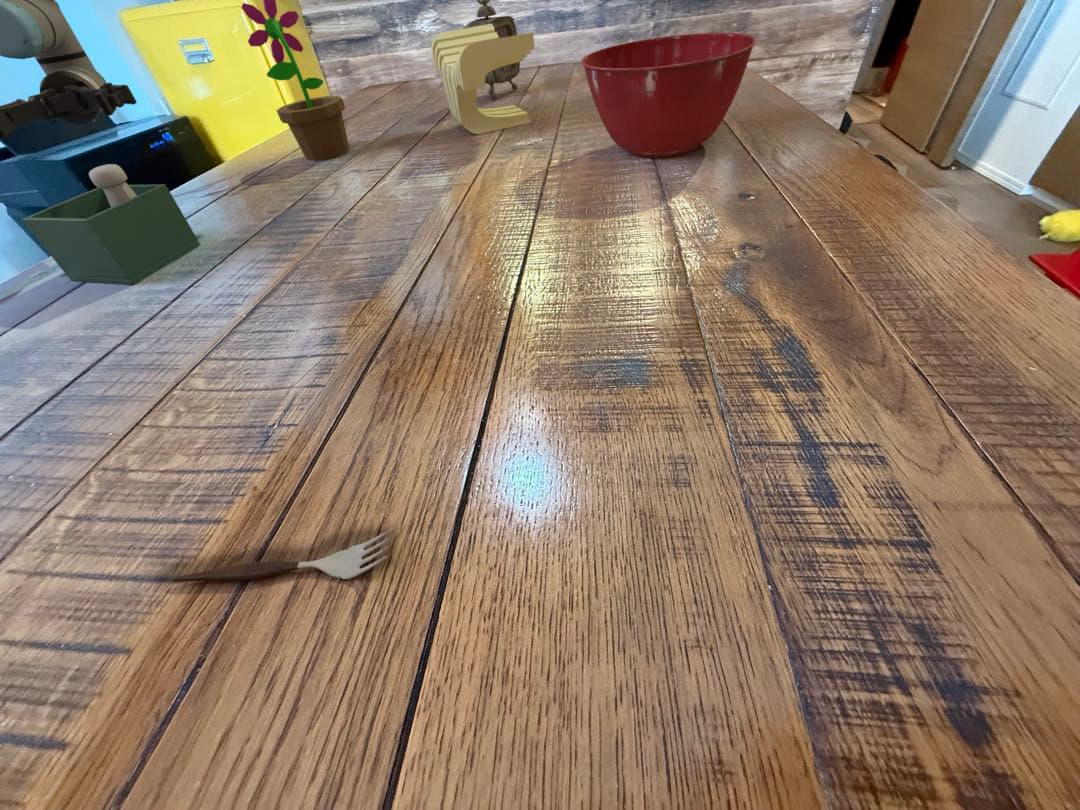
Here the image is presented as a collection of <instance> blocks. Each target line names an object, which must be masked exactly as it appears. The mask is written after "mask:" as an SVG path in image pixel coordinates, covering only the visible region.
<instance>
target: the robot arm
mask: <svg viewBox="0 0 1080 810" xmlns="http://www.w3.org/2000/svg"><path fill="white" fill-rule="evenodd" d="M0 57H3V58H6V59H16V60H27V59H32V58H34V59H35V60H36V62H37V63H38V65H39V66H40V68H41V69H42V71H43V72H44V74H45V76H44V77H43V78H42V79H41V81H40V83H39V93H37V94H33V95H29V96H27V100H25V99H22V98H17V99H16V100H14V101H12V102H9V103H6V104H5V103H4V104H2V105H0V138H5V137H7V136H11V135H13V134H14V133H13V131H15V130H16V129H17V128H16V127H18V126H21V125H25V124H27V123H33V122H35V121H39V120H42V121H52V120H56V119H58V118H59V119H62V120H63V121H65V122H67V123H70V124H76V125H86V124H89V123H92V122H93V123H94V122H96V119H97V118H98V117H99V115H100V114H101V112H102V111H103V113H104V115H105V116H106V117H108V116H109V117H110V116H113V115H114V113H115V112H116V110H117V108H123V107H124V106H125V105H136V104H137V103H138V101H137V100H136V97H135V96H134V94H133V93H132V91H131V88H130V87H129V85H128V84H113V83H112V82H111V81H110V82H107V81H106V78H104V76H103V75H102V74H101V73H100V72H98V71H97V69H96V68H95V66H94V64H93V63H92V61H91V59H90V57H89V56H88V55H87V53H86V51H85V50H84V48H83V46H82V44H81V43H80V41H79V39H78V37H77V36H76V34H75V33H74V31H73V28H72V27H71V26H70V24H69V21H68V20H67V18H66V16H65V15H64V14H63V12H62V10H61V8H60V4H59V3H58V1H56V0H0Z"/></svg>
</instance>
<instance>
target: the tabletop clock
mask: <svg viewBox="0 0 1080 810" xmlns="http://www.w3.org/2000/svg"><path fill="white" fill-rule="evenodd" d="M476 2H477V3H478V4H480V5H481V6H480V7H479V8H478V10H477V12H476V19H474V20H472V21H470V22H468V23H467V24H466V25H465V26H464V27H463V29H465V28H471V27H476V26H482V25H487V24H492V25H493V27H494V29H495V32H497V34H498V36H499V38H504V37H510V36H515V35H518V33H517V28H516V23H515V20H514V17H512V16H510V15H502V16H496V15H497V12H496V10H495V8H494V7H493V6H492V5H488V3H489V2H491V0H476ZM520 65H521V62H517V63H513V64H509V65H506V66H503V67H500V68H497V69H495V70H493V71H491V72H489V73H487V74H486V77H485V84H488V85H489V89H488V91H487V92H488V95H489V96H490V98H491V99H492V100H494V101H495V100H497V98H498V94H497V93H496V92H495V87H494V85H495V84H503V83H506V82H508V83H509V84H510V85H511V89H512V90H513V91H517V89H518V85H517V84H516V83H514V82H513V79H514V78H516V77H517V76H518V75H519V73H520V69H521V66H520Z"/></svg>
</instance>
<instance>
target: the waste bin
mask: <svg viewBox="0 0 1080 810" xmlns="http://www.w3.org/2000/svg"><path fill="white" fill-rule="evenodd" d="M128 186H129V187H130V188H131V189H132V190H133V192H134V193H135V194H136V195H137V196H135V197H133V198H131V199H129V200H127V201H124V202H122V203H120V204H118V205H116V206H114V207H111V206H110V204H109V201H108V199H107V197H106V195H105V193H104V190H103V188H99V187H96V188H94V189H93V188H92V189H91V190H88V191H86V192H84V193H82V194H79V195H77V196H75V197H71V198H69V199H67V200H64V201H62V202H60V203H58V204H55V205H53V206H49V207H47V208H45V209H43V210H41V211H38V212H36V213H33V214H30V215H28V216H26V217H23V218H22V219H21V220H22V222H23V223H24V224H25V225H26V227H27V228H28V229H29V230H30V232H31V233H32V235H33V236H34V237H35V238H36V239H37V240H38V242H39V243H40V244H41V245H42V247H43V248H44V249H45V250H46V252H47V253H48V254H49V256H50V257H51V258H52V259H53V261H54V262H55V263H56V264H57V265H58V266H59V268H60V269H61V270H62V272H63V273H64V274H65V275H66V276H67V278H68V279H69V280H70V281H71V282H81V283H97V284H98V283H99V284H112V285H124V286H135V285H136V284H137V283H139V282H140V281H142V280H144V279H146V278H147V277H149V276H151V275H153V274H155V273H156V272H157V271H159V270H161V269H162V268H164V267H166V266H167V265H169V264H171V263H173V262H174V261H176V260H177V259H179V258H181V257H183V256H184V255H186V254H188V253H190V252H191V251H193V250H194V249H196V248H198V247H200V246H201V243H200V240H199V239H198V237H197V236H196V234H195V232H194V231H193V229H192V227H191V226H190V224H189V222H188V220H187V219H186V217H185V215H184V214H183V212H182V210H181V208H180V207H179V205H178V204H177V201H176V200H175V199H174V196H173V195H172V193H171V191H170V189H169V188H168V187H167V185H166V184H165V183H163V184H162V183H161V184H128Z"/></svg>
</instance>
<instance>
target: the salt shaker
mask: <svg viewBox="0 0 1080 810" xmlns="http://www.w3.org/2000/svg"><path fill="white" fill-rule="evenodd" d="M88 176H89V179H90V180H91V182H92V183H93V185H94V186H95V187H96V188H98V187H99V188H103V190H104V193H105V195H106V197H107V199H108V201H109V204H110V206H111V207H114V206H116V205H118V204H120V203H122V202H124V201H127V200H129V199H131V198H133V197H135V196H137V195H136V194H135V193H134V192H133V190H132V189H131V188H130V187H129V186H128V185H129V184H128V183H127V182H126V181H127V180H128V175H127V174H126V173H125V171H124V170H123V168H122V167H121V166H119V165H118V164H113V163H112V164H111V163H108V164H103V165H99V166H96V167H94V168H92V169H91V170H89V172H88Z"/></svg>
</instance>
